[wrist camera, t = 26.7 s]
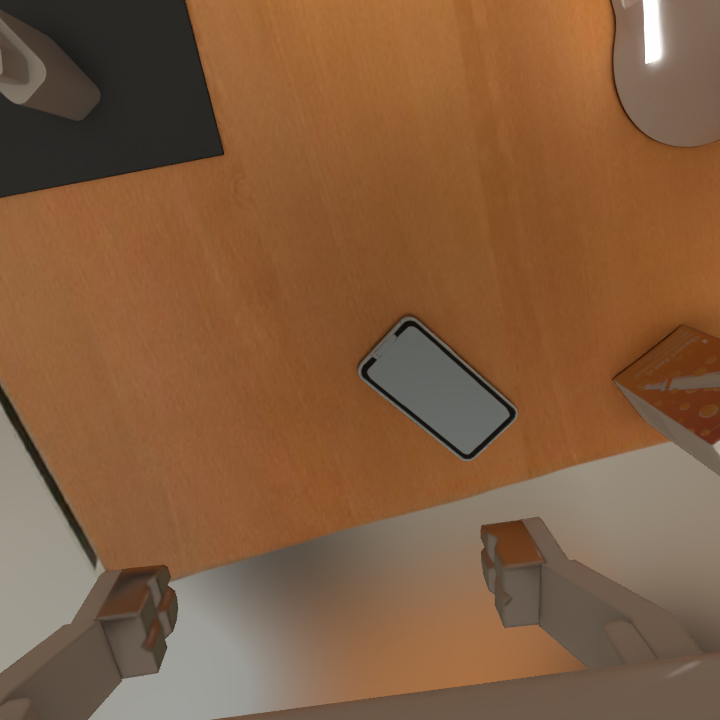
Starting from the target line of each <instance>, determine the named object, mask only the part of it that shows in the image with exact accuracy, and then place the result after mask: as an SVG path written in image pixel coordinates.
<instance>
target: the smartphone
mask: <svg viewBox="0 0 720 720" xmlns="http://www.w3.org/2000/svg"><path fill="white" fill-rule="evenodd" d="M358 372H359V376H360V378H361V379H362V380H363V381H364V382H366V383H367V384H368V385H369V386H370V387H372V388H373V389H374V390H375V391H377V392H378V393H379V394H380V395H382V396H383V397H384V398H385V399H387V400H388V401H389V402H390V403H392V404H393V405H394V406H395V407H397V408H398V409H399V410H400V411H402V412H403V413H404V414H405V415H407V416H408V417H409V418H410V419H411V420H413V421H414V422H415V423H416V424H418V425H419V426H420V427H421V428H423V429H424V430H425V431H426V432H428V433H429V434H430V435H431V436H433V437H434V438H435V439H436V440H438V441H439V442H440V443H441V444H443V445H444V446H445V447H446V448H448V449H449V450H450V451H451V452H452V453H454V454H455V455H456V456H457V457H459V458H460V459H461V460H463V461H471V460H473V459H475V458H476V457H477V456H478V455H479V454H480V453H481V452H482V451H483V450H484V449H485V448H486V447H488V446H489V445H490V444H491V443H492V442H493V441H494V440H495V439H496V438H497V437H498V436H499V435H500V434H501V433H502V432H503V431H504V430H506V429H507V428H508V427H509V426H510V425H511V424H512V423H513V422H514V421H515V420H516V418H517V416H518V411H517V409H516V407H515V406H514V405H513V404H512V403H511V402H510V401H509V400H507V399H506V398H505V397H504V396H503V395H502V394H501V393H500V392H498V391H497V390H496V389H495V388H494V387H493V386H492V385H491V384H489V383H488V382H487V381H486V380H485V379H484V378H483V377H482V376H480V375H479V374H478V373H477V372H476V371H475V370H474V369H473V368H471V367H470V366H469V365H468V364H467V363H466V362H465V361H464V360H462V359H461V358H460V357H459V356H458V355H457V354H456V353H455V352H453V350H452V349H451V348H450V347H448V346H447V345H446V344H445V343H444V342H443V341H442V340H440V339H439V338H438V337H437V336H435V335H434V334H433V333H432V332H431V331H430V330H429V329H428V328H426V327H425V326H424V325H423V324H422V323H421V322H420V321H419V320H417V319H416V318H414V317H412V316H407V317H404V318H402V319H401V320H400V321H399V322H398V323H397V324H396V325H395V326H394V327H393V328H392V329H391V331H390V332H389V333H388V334H387V335H386V336H385V337H384V338H383V339H382V340H381V341H380V342H379V343H378V345H377V346H376V347H375V348H374V349H373V350H372V351H371V352H370V353H369V354H368V355H367V356H366V357H365V359H364V360H363V361H362V362H361V363H360V365H359V367H358Z"/></svg>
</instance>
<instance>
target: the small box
mask: <svg viewBox="0 0 720 720" xmlns="http://www.w3.org/2000/svg"><path fill="white" fill-rule="evenodd" d="M613 381H614V382H615V384H616V385H617V386H618V387H619V389H620V390H621V391H622V392H623V394H624V395H625V396H626V398H627V399H628V400H629V401H630V403H631V404H632V405H633V407H634V408H635V409H636V411H637V412H638V413H639V414H640V416H641V417H642V418H643V420H644V421H645V422H647V423H648V424H649V425H650V426H652V427H653V428H655V429H656V430H657V431H659V432H660V433H661V434H663V435H664V436H665V437H667V438H668V439H670V440H671V441H672V442H674V443H675V444H676V445H678V446H679V447H681V448H682V449H683V450H685V451H686V452H688V453H689V454H690V455H692V456H693V457H694V458H696V459H697V460H699V461H700V462H702V463H703V464H704V465H705V466H707V467H708V468H709V469H711V470H712V471H714V472H715V473H716V474H718V475H719V476H720V338H717V337H714V336H711V335H709V334H706V333H703V332H701V331H698V330H696V329H693V328H690V327H688V326H685V325H682V326H680V327H679V328H678V329H677V330H676V331H675V332H674V333H672V334H671V335H670V336H669V337H667V338H666V339H665V340H664V341H662V342H661V343H660V344H658V345H657V346H656V347H655V348H653V349H652V350H651V351H649V352H648V353H647V354H646V355H644V356H643V357H642V358H640V359H639V360H638V361H636V362H635V363H634V364H632V365H631V366H630V367H628V368H627V369H626V370H624V371H623V372H622V373H621V374H619V375H618V376H616V377H615V378H614V379H613Z"/></svg>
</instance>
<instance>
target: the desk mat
mask: <svg viewBox="0 0 720 720" xmlns="http://www.w3.org/2000/svg"><path fill="white" fill-rule="evenodd" d="M0 10H2V11H4V12H6V13H7V14H9V15H11V16H13V17H15V18H16V19H18V20H20V21H22V22H24V23H25V24H27V25H29V26H31V27H32V28H34V29H36V30H38V31H40V32H41V33H43V34H45V35H47V36H49V37H50V38H51V39H52V40H53V41H54V42H55V43H56V44H57V45H58V46H59V47H60V48H61V49H62V50H63V51H64V52H65V53H66V54H67V55H68V56H69V58H70V59H71V60H72V61H73V62H74V63H75V64H76V65H77V66H78V67H79V68H80V69H81V70H82V71H83V72H84V73H85V74H86V75H87V76H88V78H89V79H90V80H91V81H92V82H93V83H94V84H95V85H96V86H97V87H98V89H99V91H100V94H101V96H100V101H99V102H98V104H97V105H96V106H95V107H94V108H93V109H92V110H91V111H90V113H89V114H88V115H87V116H86V117H85V118H84V119H83V120H80V121H75V120H72V119H68V118H65V117H61V116H58V115H54V114H51V113H47V112H44V111H40V110H37V109H33V108H30V107H26V106H23V105H19V104H16V103H14V102H12V101H10V100H9V99H8V98H7V97H6V96H5V95H3V94H2V93H1V92H0V197H6V196H11V195H16V194H21V193H26V192H32V191H37V190H42V189H47V188H52V187H58V186H63V185H68V184H73V183H78V182H84V181H89V180H94V179H99V178H104V177H110V176H115V175H120V174H125V173H130V172H136V171H141V170H146V169H151V168H156V167H162V166H167V165H172V164H177V163H182V162H188V161H193V160H198V159H203V158H209V157H214V156H219V155H224V152H223V148H222V144H221V140H220V137H219V133H218V129H217V125H216V121H215V117H214V113H213V109H212V105H211V101H210V97H209V93H208V89H207V85H206V82H205V78H204V74H203V70H202V66H201V62H200V58H199V54H198V50H197V46H196V42H195V38H194V34H193V31H192V27H191V23H190V19H189V15H188V11H187V7H186V3H185V0H0Z"/></svg>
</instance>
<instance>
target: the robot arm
mask: <svg viewBox="0 0 720 720" xmlns="http://www.w3.org/2000/svg"><path fill="white" fill-rule="evenodd" d="M612 4H613V8H614V12H615V16H616V34H615V43H614V55H613V67H614V77H615V83H616V88H617V92H618V95H619V98H620V100H621V103H622V105H623V107H624V109H625V111H626V113H627V114H628V116H629V117H630V119H631V120H632V121H633V123H634V124H635V125H636V126H637V127H638V128H639V129H640V130H641V131H642V132H644V133H645V134H646V135H648V136H649V137H651V138H653V139H654V140H656V141H659V142H661V143H664V144H667V145H671V146H677V147H694V146H700V145H705V144H709V143H712V142H715V141H717V140H720V0H612ZM481 540H482V542H483V544H484V549H483V550H482V551H481V561H482V568H483V574H484V577H485V581H486V584H487V586H488V589H489V591H490V592H492V593H493V594H495V606H496V609H497V611H498V614H499V616H500V619H501V621H502V623H503V626H504V628H507V627H517V626H527V625H537V624H539V626H540V627H541V628H542V629H543V630H545V631H546V632H547V633H548V634H549V635H550V636H551V637H553V638H554V639H555V640H556V641H557V642H558V643H560V644H561V645H562V646H563V647H564V648H565V649H567V650H568V651H569V652H570V653H571V654H572V655H574V656H575V657H576V658H577V659H579V661H581V662H582V663H583V664H584V665H585V666H586V667H588V668H589V669H587V670H580V671H572V672H564V673H557V674H550V675H542V676H535V677H527V678H520V679H512V680H506V681H498V682H491V683H483V684H476V685H469V686H461V687H453V688H446V689H438V690H431V691H423V692H416V693H408V694H400V695H392V696H385V697H377V698H369V699H362V700H355V701H347V702H340V703H333V704H325V705H318V706H310V707H302V708H295V709H287V710H280V711H273V712H265V713H258V714H250V715H243V716H236V717H228V718H220V719H213V720H720V652H714V653H707V654H704V653H703V652H702V651H701V650H700V648H699V647H698V646H697V645H696V643H695V642H694V641H693V640H692V638H691V637H690V636H689V635H688V634H687V632H686V631H685V630H684V629H683V627H682V626H681V625H680V624H679V623H678V621H677V620H676V619H675V618H674V616H673V615H672V614H671V613H670V612H669V611H667V610H665V609H664V608H662V607H660V606H658V605H656V604H654V603H653V602H651V601H649V600H647V599H645V598H643V597H642V596H640V595H638V594H636V593H634V592H632V591H631V590H628V589H627V588H625V587H623V586H622V585H620V584H618V583H616V582H614V581H613V580H610V579H609V578H607V577H605V576H603V575H602V574H600V573H598V572H596V571H594V570H592V569H590V568H589V567H587V566H585V565H583V564H582V563H580V562H578V561H576V560H569V559H568V558H567V556H566V555H565V553H564V552H563V551H562V549H561V548H560V546H559V544H558V543H557V541H556V540H555V539H554V537H553V536H552V534H551V532H550V531H549V530H548V528H547V527H546V525H545V524H544V522H543V521H542V519H541V518H539V517H534V518H528V519H521V520H517V521H509V522H502V523H495V524H487V525H482V526H481ZM170 578H171V576H170V573H169V570H168V567H167V566H165V565H157V566H147V567H137V568H127V569H121V570H111V571H105V572H104V573H102V574H101V575H100V576H99V578H98V580H97V581H96V583H95V585H94V587H93V588H92V590H91V591H90V593H89V595H88V596H87V598H86V599H85V601H84V603H83V604H82V606H81V608H80V610H79V611H78V613H77V614H76V616H75V618H74V619H73V621H72V623H71V624H68V625H64V626H62V627H61V628H60V629H58V630H57V631H56V632H54V633H53V634H52V635H51V636H49V637H48V638H47V639H45V640H44V641H43V642H41V643H40V644H39V645H37V646H36V647H35V648H33V649H32V650H31V651H29V652H28V653H27V654H26V655H24V656H23V657H21V658H20V659H19V660H17V661H16V662H15V663H14V664H12V665H11V666H10V667H9V668H7V669H6V670H4V671H3V672H2V673H0V720H88V719H89V718H90V716H91V715H92V714H93V713H94V712H95V711H96V710H97V708H98V707H99V706H100V705H101V704H102V703H103V702H104V700H105V699H106V698H107V697H108V696H109V695H110V694H111V693H112V692H113V690H114V689H115V688H116V687H117V686H118V685H119V684H120V682H121V681H122V680H121V679H124V678H130V677H136V676H143V675H148V674H155V673H158V672H159V669H160V666H161V663H162V660H163V658H164V655H165V652H166V650H167V645H166V642H165V639H166V638H167V637H168V636H169V634H171V633H172V632H173V630H174V627H175V624H176V621H177V612H178V603H177V596H176V593H175V591H174V590H173V589H172V588H171V587H169V586H168V583H169V580H170Z"/></svg>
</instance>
